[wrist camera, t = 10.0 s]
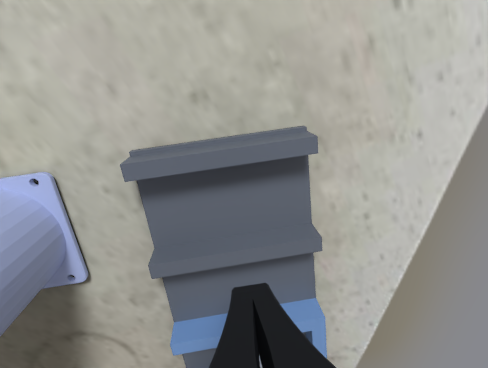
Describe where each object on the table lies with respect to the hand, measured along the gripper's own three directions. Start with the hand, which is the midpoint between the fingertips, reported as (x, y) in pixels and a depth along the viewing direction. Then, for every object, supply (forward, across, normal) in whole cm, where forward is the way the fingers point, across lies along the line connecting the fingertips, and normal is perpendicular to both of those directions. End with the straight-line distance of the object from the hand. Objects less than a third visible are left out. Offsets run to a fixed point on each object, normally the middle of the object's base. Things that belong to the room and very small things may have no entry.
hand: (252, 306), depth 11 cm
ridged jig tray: (+9, 0, +6) cm, 11 cm away
